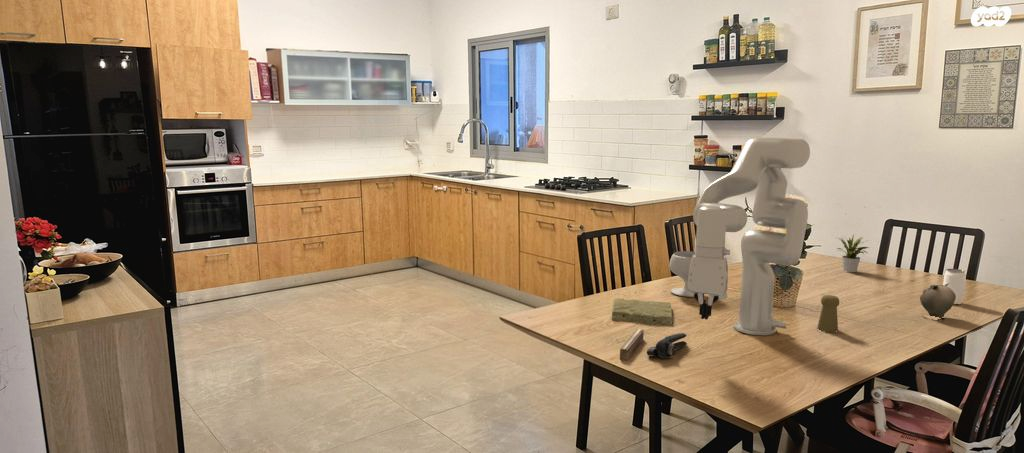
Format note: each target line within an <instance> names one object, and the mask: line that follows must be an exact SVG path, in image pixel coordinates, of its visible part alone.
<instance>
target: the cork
mask: <svg viewBox="0 0 1024 453" xmlns="http://www.w3.org/2000/svg"><path fill="white" fill-rule="evenodd" d="M820 303H821V305H822V306H821V311H820V316H819V319H818V323H817V327H816V329H817V330H818V329H819V330H818V331H820V330H821V332H823V331H825V332H824V333H828V332H835V333H837V332H836V331H838V332H839V325H838V324H839V322H838V306H840V299H839V297H838V296H835V295H832V294H827V295H826V294H825V295H823V296H822V297H821V298H820Z"/></svg>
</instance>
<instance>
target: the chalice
mask: <svg viewBox="0 0 1024 453" xmlns="http://www.w3.org/2000/svg"><path fill="white" fill-rule="evenodd" d="M693 255H695V251H689V250H683V251H682V250H681V251H675V252H673V254H672V255H671V258H670V259H669V263H668V264H669V269H670V271H671V272H672V273H673V274H675V275H676V276H678V277H679V278H681V279H682V280H683V282H684V287H675V288H672V289H671V290H670V292H671V294H673V295H676V296H679V297H685V298H686V297H687V298H693V297H692V296H689V295H687V294H686V292H687V289H688V276H689V269H690V264H691V260H692V256H693Z"/></svg>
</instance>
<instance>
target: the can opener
mask: <svg viewBox="0 0 1024 453" xmlns="http://www.w3.org/2000/svg"><path fill="white" fill-rule="evenodd" d="M686 337H687V334H686V333H684V332H680V333H679V332H678V333H675V334H671V335H666V336H664V338H663V339H660V340H658V341H657V343H656V344H655V346H651V347H649V348H648V349H647V351H646V355H647V356H651V357H655V358H656V357H657V358H658V357H659V358H660V359H670V358H673V352H674V351H675V350H680V349H682V348H684V347H685V346H687V345H688V344H687V342H686V341H684V340H683V341H680V340H682V339H684V338H686ZM677 341H678V342H677Z"/></svg>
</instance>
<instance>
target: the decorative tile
mask: <svg viewBox="0 0 1024 453" xmlns="http://www.w3.org/2000/svg"><path fill="white" fill-rule="evenodd" d="M672 312H673V311H672V303H671V302H667V301H657V300H656V301H655V300H639V299H625V298H614V299H613V303H612V312H611V320H613V321H627V322H635V323H636V322H637V323H640V324H641V323H642V324H654V325H655V324H656V325H668V326H670V325H671V326H672V325H673V315H672Z"/></svg>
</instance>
